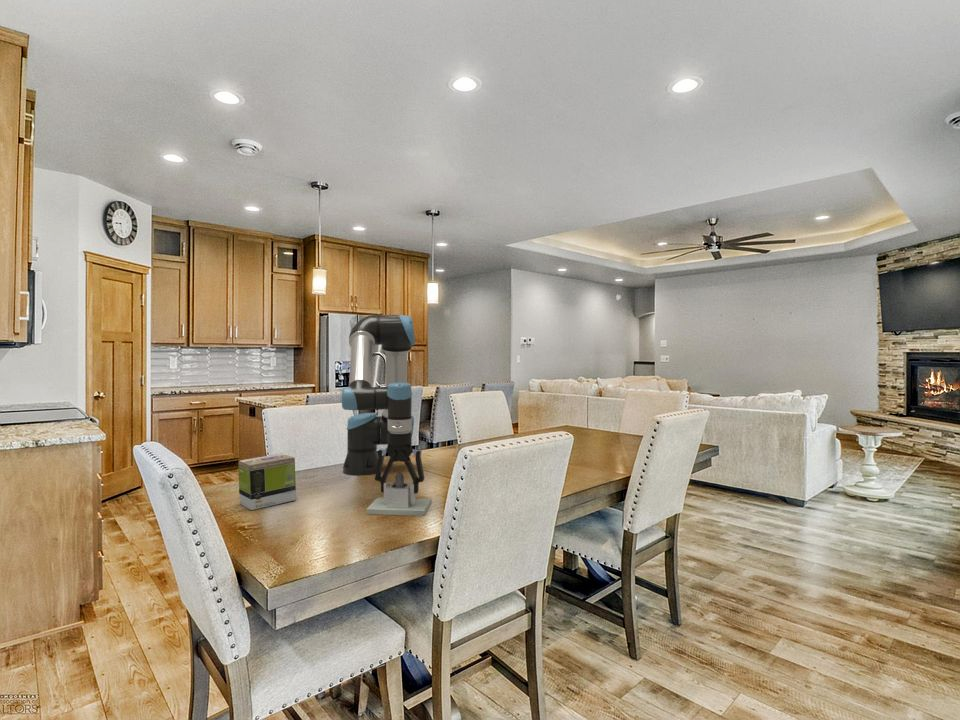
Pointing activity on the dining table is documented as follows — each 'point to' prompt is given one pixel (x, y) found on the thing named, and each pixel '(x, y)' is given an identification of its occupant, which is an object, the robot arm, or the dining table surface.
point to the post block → (413, 510)
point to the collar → (398, 496)
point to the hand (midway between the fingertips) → (399, 502)
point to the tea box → (266, 481)
